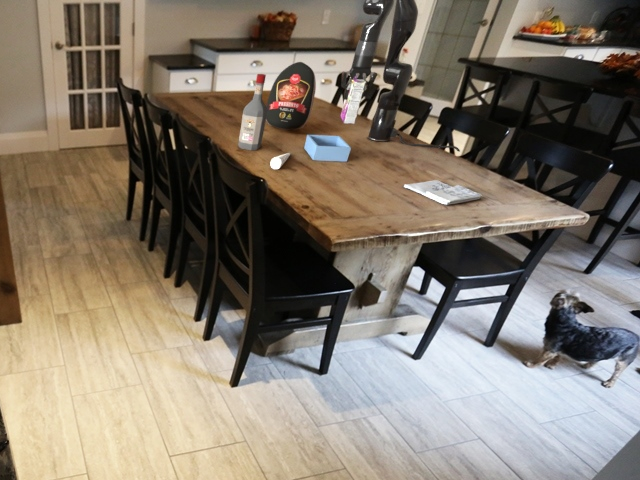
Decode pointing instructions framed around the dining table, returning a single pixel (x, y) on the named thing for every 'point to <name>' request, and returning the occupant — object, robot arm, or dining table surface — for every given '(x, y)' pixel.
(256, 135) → the liquor
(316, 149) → the crate
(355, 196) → the dining table surface
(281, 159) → the unicorn horn
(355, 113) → the candy bar box
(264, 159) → the dining table surface
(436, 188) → the folded newspaper
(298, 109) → the packaged food
